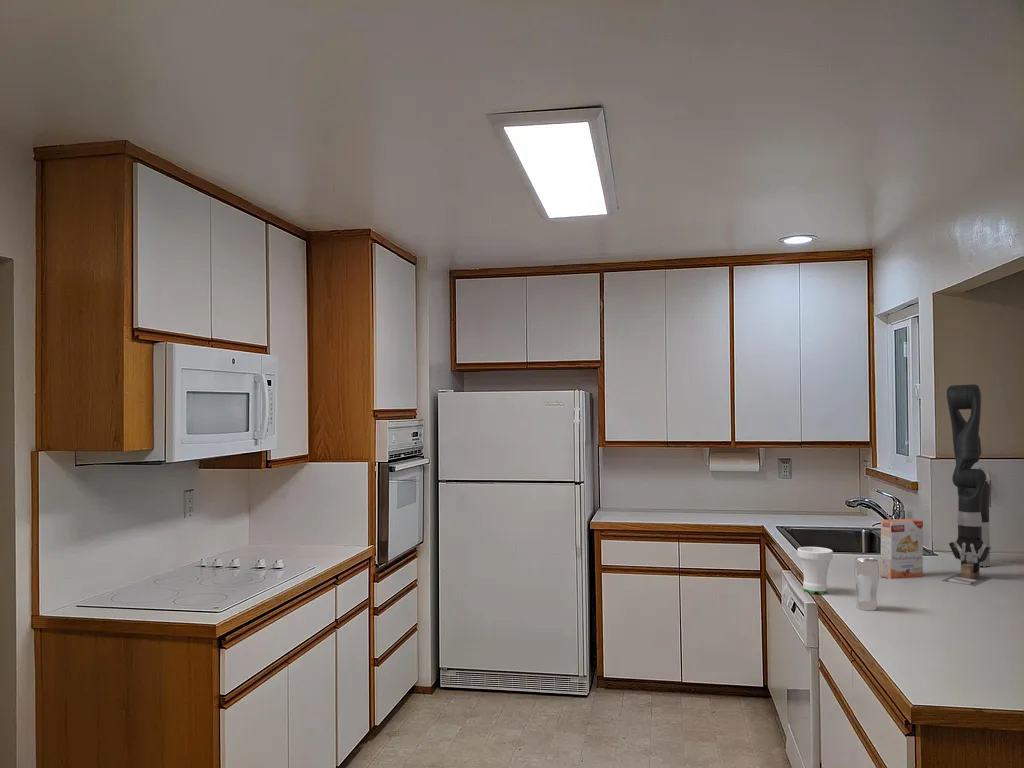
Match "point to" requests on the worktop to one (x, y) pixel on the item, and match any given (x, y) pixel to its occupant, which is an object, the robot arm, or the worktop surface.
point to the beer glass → (866, 583)
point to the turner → (966, 574)
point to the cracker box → (901, 548)
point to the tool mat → (979, 579)
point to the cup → (815, 568)
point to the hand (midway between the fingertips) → (970, 571)
